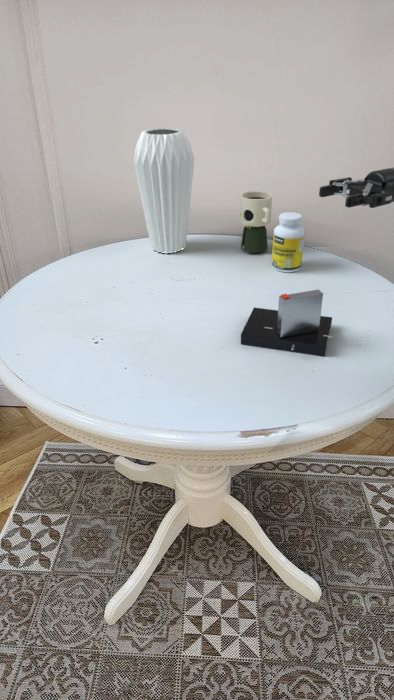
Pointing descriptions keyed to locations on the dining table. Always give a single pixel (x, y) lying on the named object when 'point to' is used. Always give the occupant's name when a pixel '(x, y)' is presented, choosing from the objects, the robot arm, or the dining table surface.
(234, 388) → the dining table surface
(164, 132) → the vase
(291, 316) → the grey battery block
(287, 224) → the pill bottle
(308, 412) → the dining table surface
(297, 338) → the black base plate
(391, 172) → the robot arm
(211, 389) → the dining table surface
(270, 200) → the character mug
